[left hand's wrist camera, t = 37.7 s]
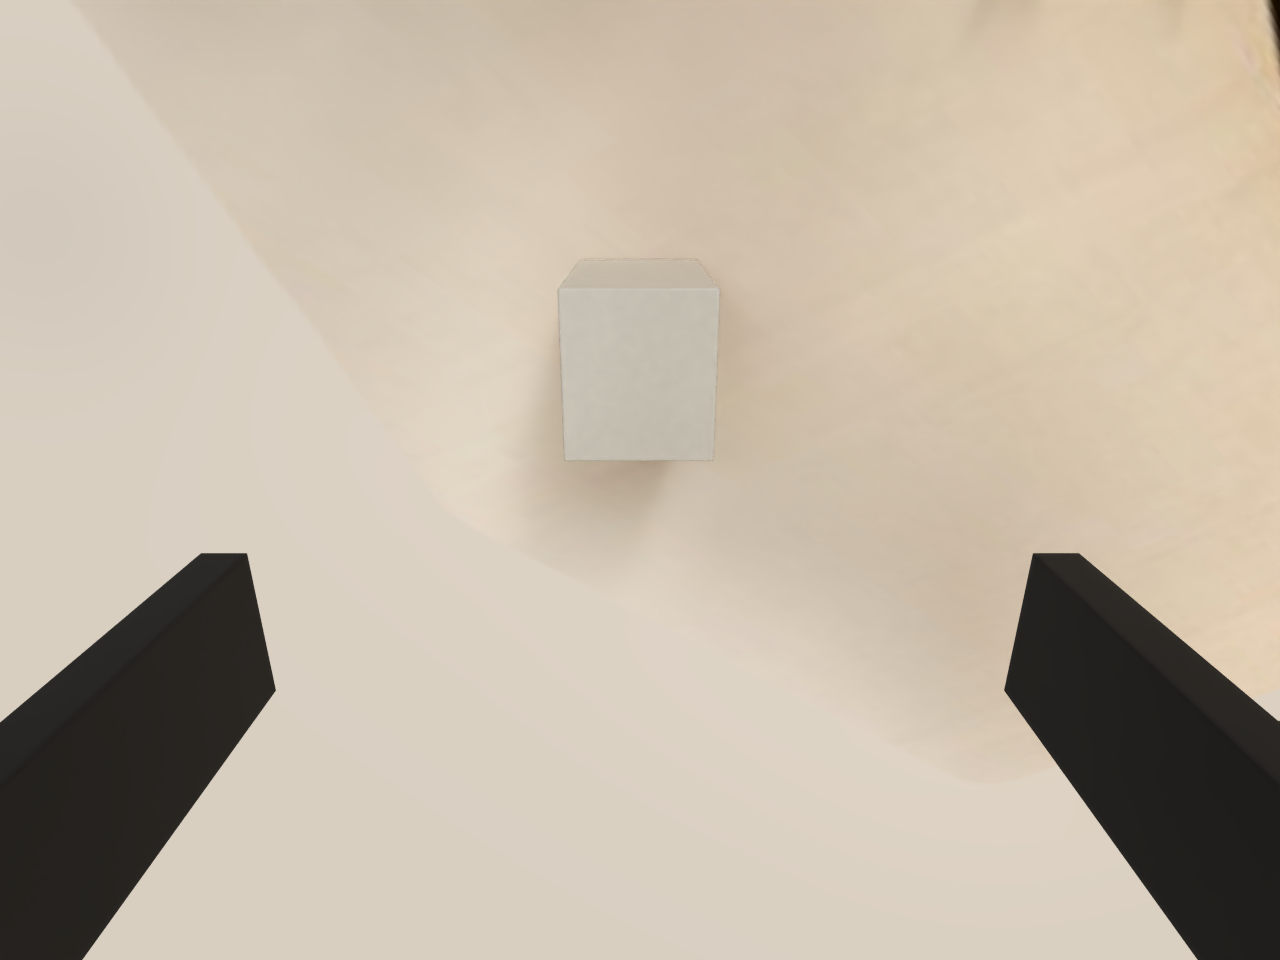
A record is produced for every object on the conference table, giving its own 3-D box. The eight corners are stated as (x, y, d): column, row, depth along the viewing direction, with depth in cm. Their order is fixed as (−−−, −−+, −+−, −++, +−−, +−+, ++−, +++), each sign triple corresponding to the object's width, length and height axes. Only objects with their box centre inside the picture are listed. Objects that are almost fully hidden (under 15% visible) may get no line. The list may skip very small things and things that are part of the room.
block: (583, 389, 42) (564, 461, 31) (580, 258, 39) (557, 288, 29) (694, 389, 42) (713, 461, 31) (698, 259, 39) (720, 288, 29)
